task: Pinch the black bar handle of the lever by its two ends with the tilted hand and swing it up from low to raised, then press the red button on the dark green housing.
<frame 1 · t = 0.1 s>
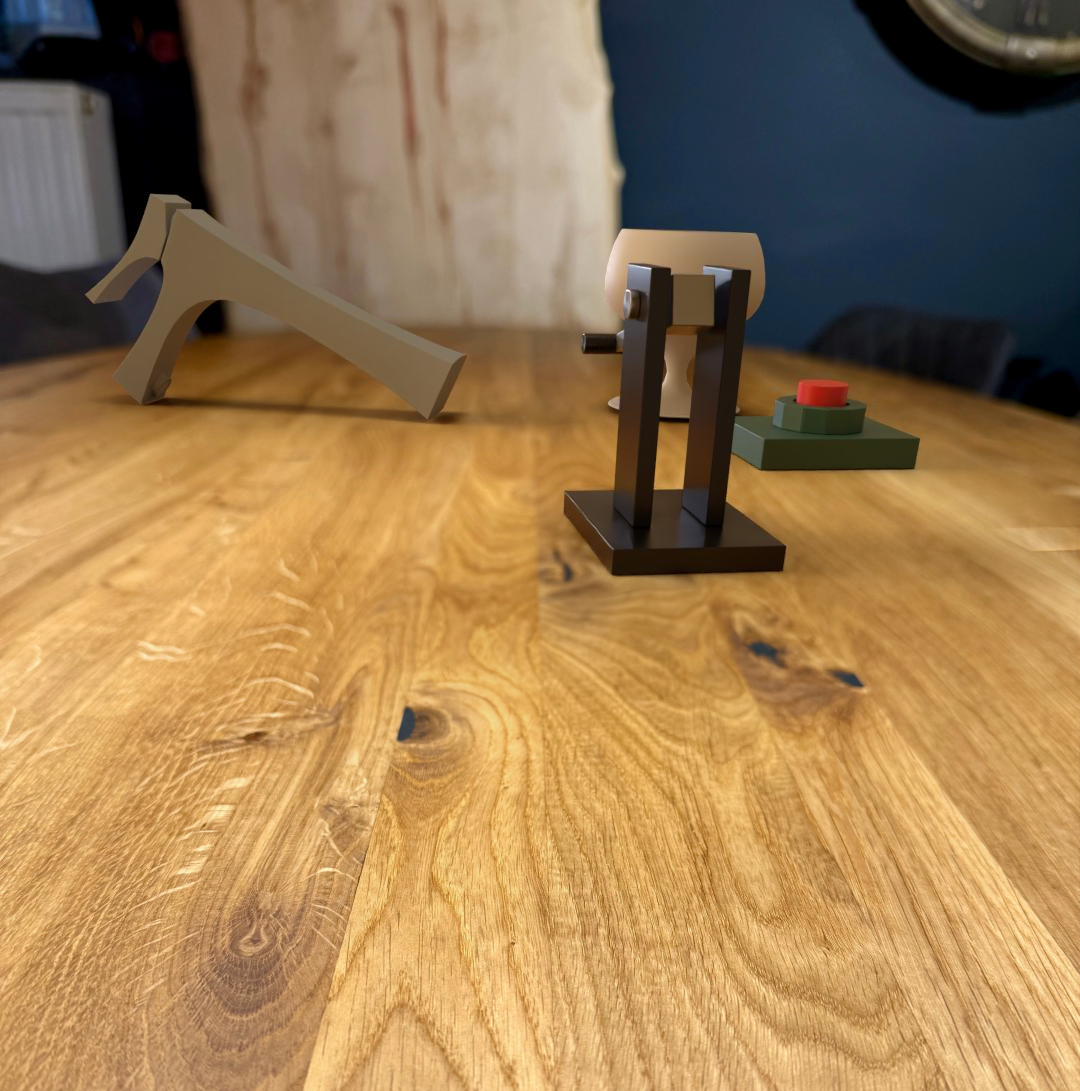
button box: (813, 456, 79), on the table
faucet: (285, 410, 90), on the table
bracket: (664, 538, 57), on the table
lever: (652, 325, 57), point 11 cm above the table, hinge at -15.0°
button: (822, 395, 77), point 4 cm above the table, slide at 0.1 cm
chalice: (673, 412, 95), on the table
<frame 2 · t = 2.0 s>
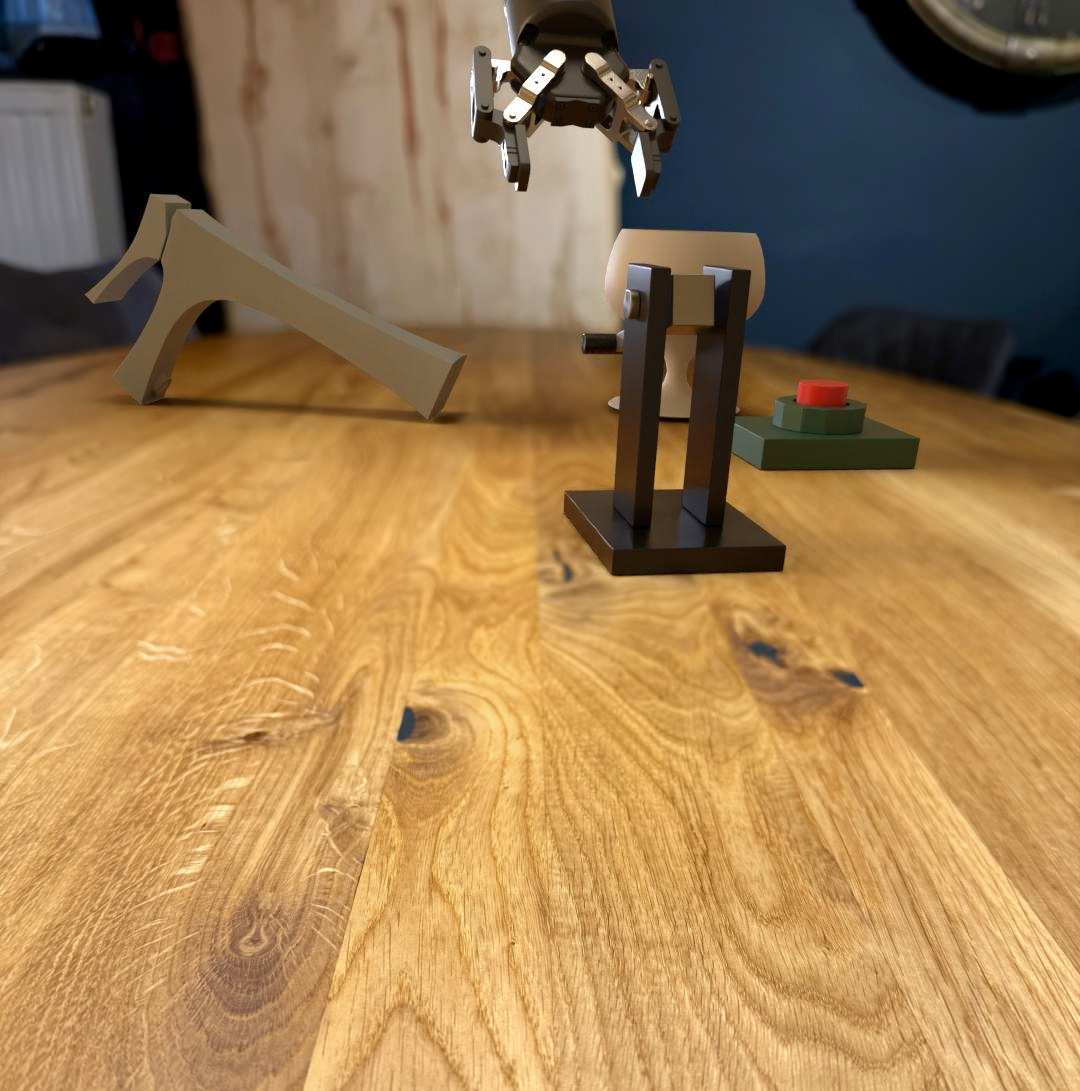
hand: (586, 184, 69), 18 cm above the table, tool tilted 45°, fingers open, 8 cm apart
nothing on the table moved.
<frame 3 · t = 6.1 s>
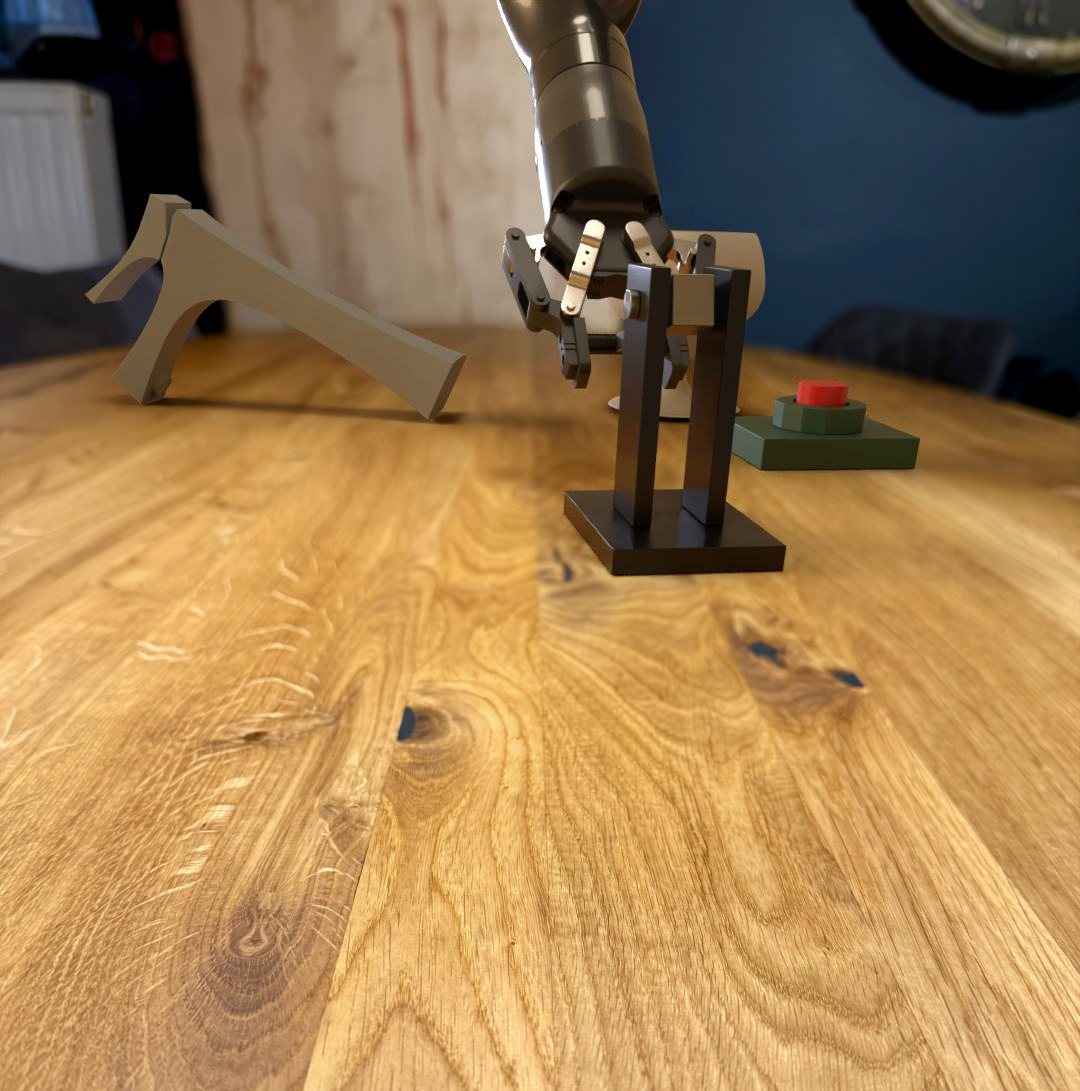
hand: (628, 379, 62), 7 cm above the table, tool tilted 45°, fingers closed on lever, 5 cm apart
lever: (652, 325, 57), point 11 cm above the table, hinge at -15.1°, touching gripper
everything else where it was.
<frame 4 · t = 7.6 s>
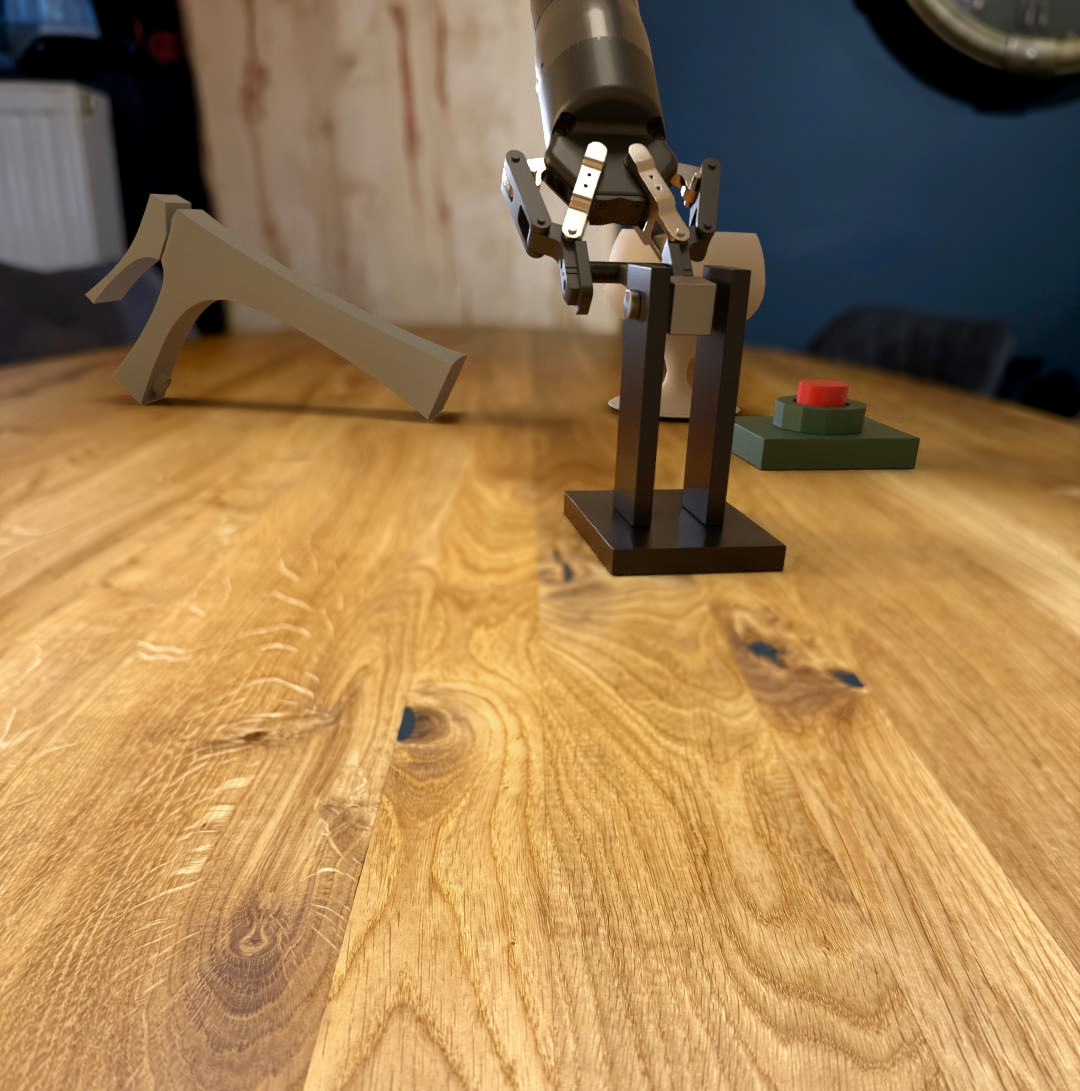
hand: (632, 305, 61), 11 cm above the table, tool tilted 45°, fingers closed on lever, 5 cm apart
lever: (654, 288, 56), point 12 cm above the table, hinge at 4.3°, touching gripper
everything else where it was.
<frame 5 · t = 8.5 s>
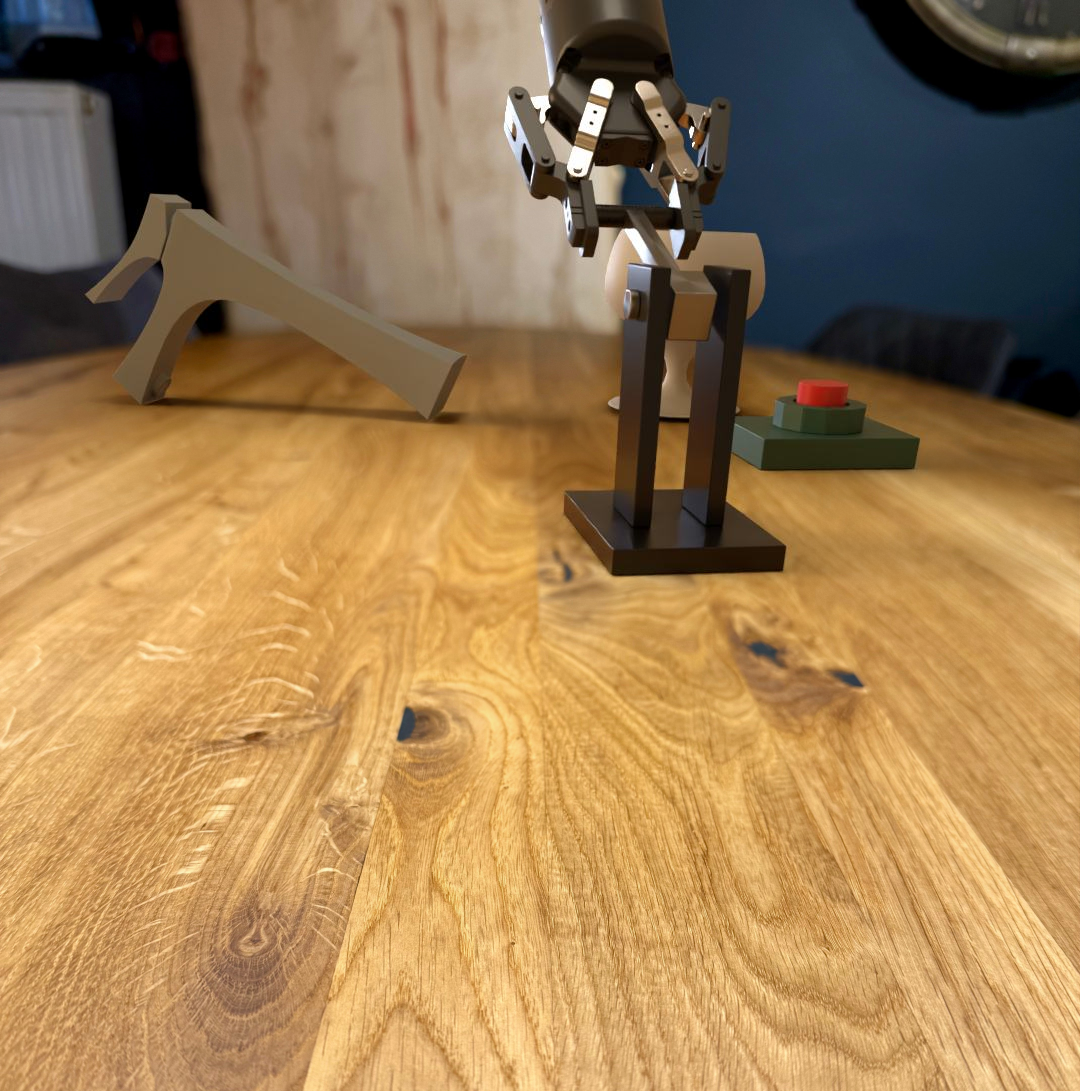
hand: (638, 247, 59), 14 cm above the table, tool tilted 45°, fingers closed on lever, 5 cm apart
lever: (658, 260, 55), point 14 cm above the table, hinge at 19.0°, touching gripper
everything else where it was.
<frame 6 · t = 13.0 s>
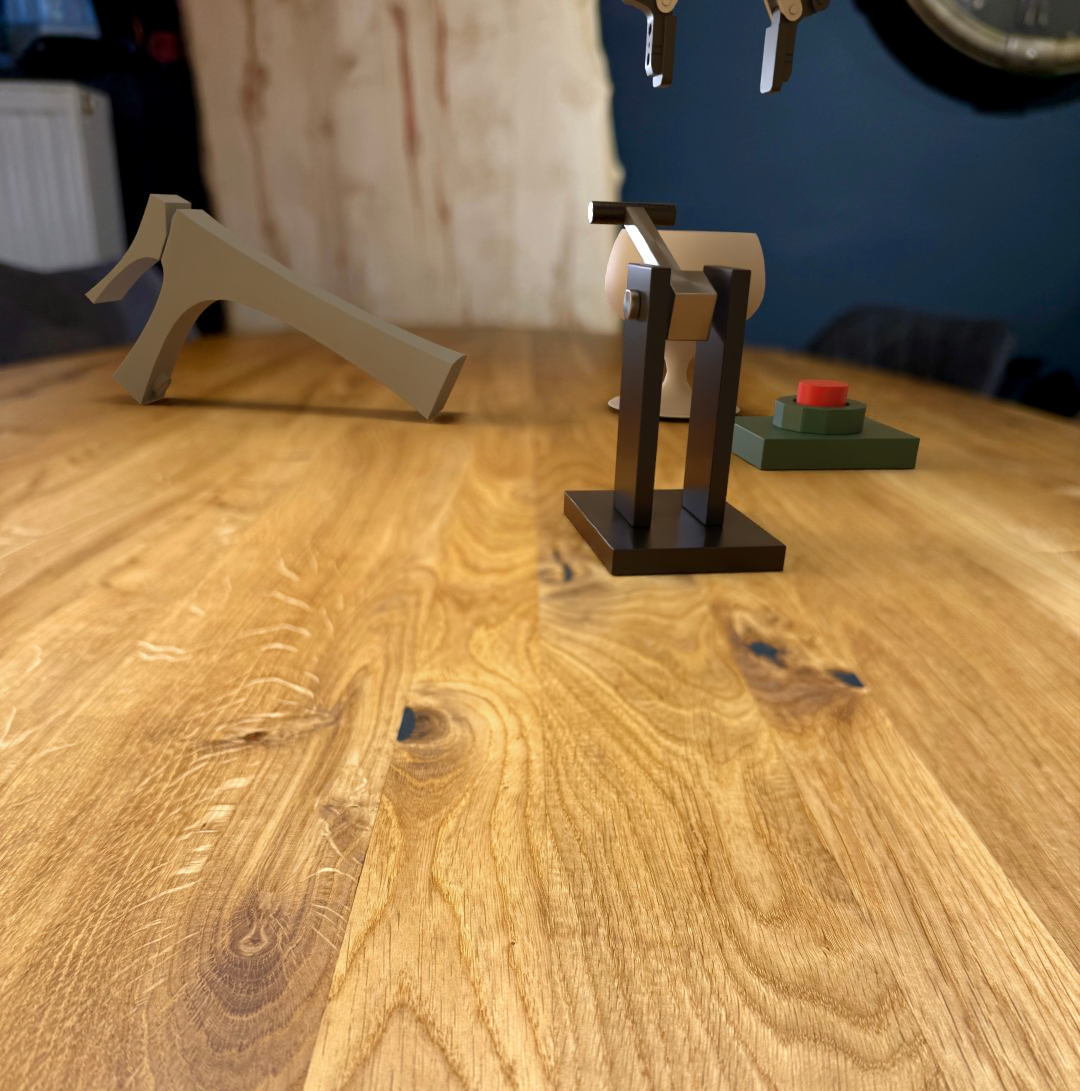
hand: (717, 88, 67), 24 cm above the table, tool pointing down, fingers open, 7 cm apart
lever: (658, 259, 55), point 14 cm above the table, hinge at 19.8°
everything else where it was.
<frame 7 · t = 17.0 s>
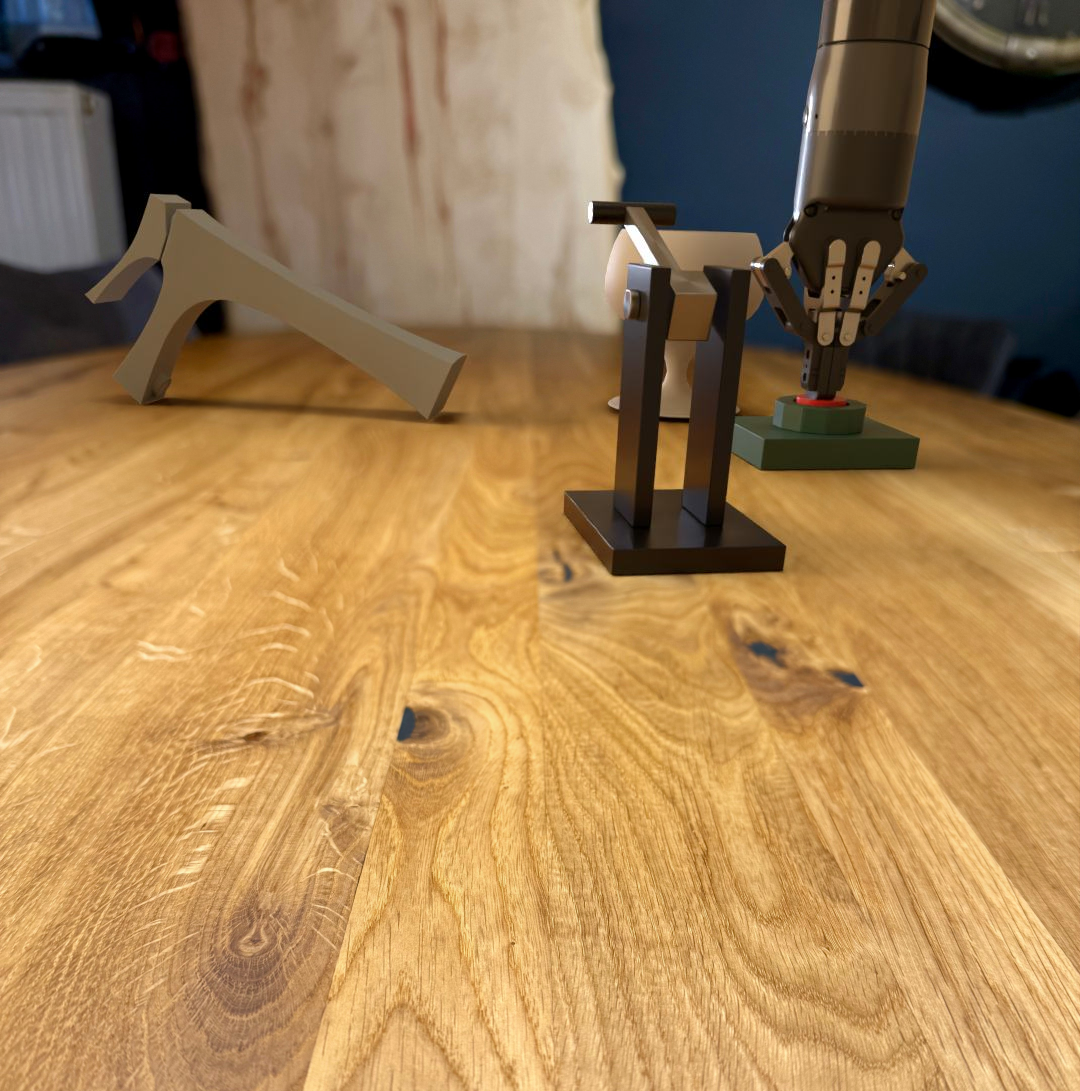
hand: (820, 397, 77), 4 cm above the table, tool pointing down, fingers closed
button: (819, 409, 77), point 3 cm above the table, slide at -0.9 cm, touching gripper
everything else where it was.
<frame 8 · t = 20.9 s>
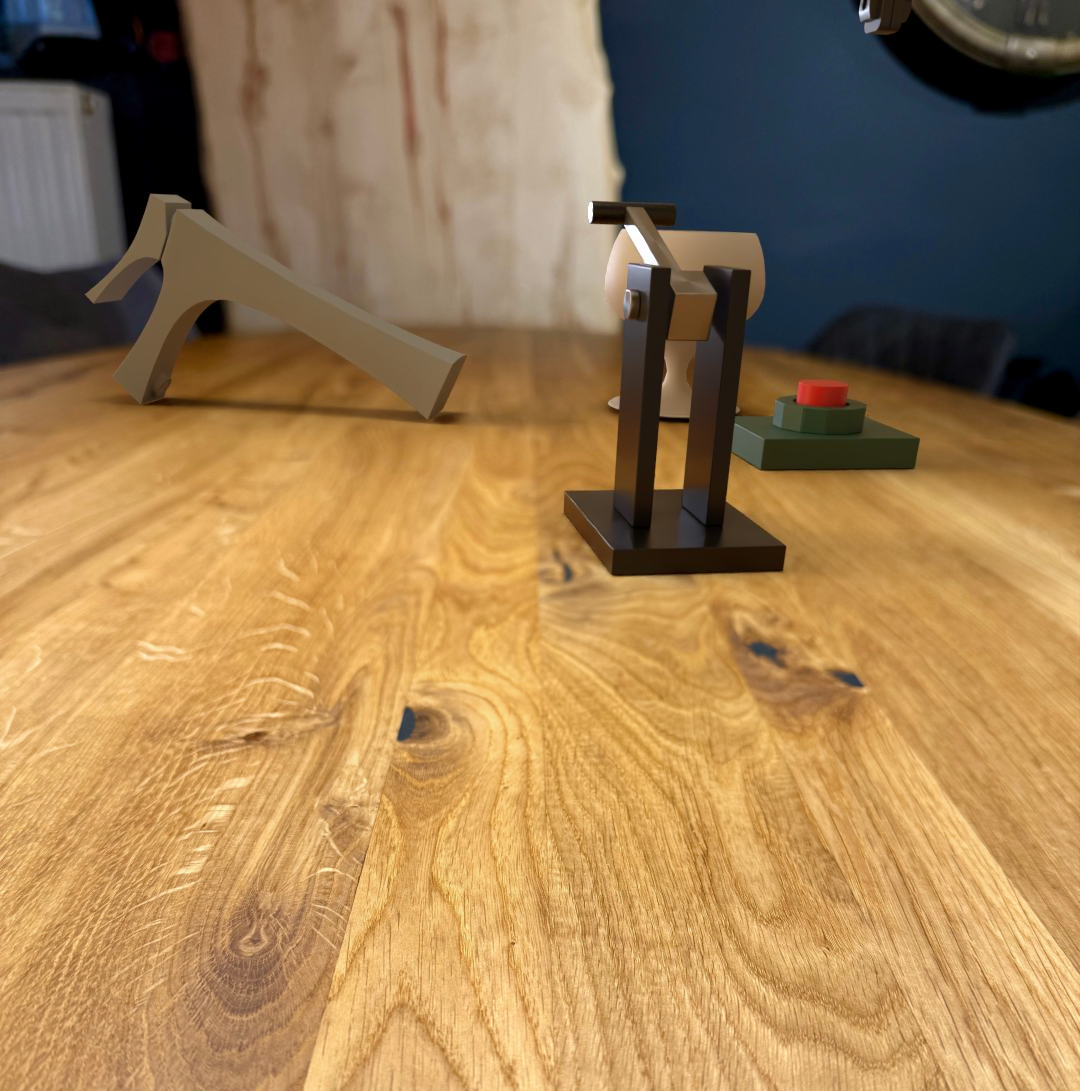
hand: (882, 32, 66), 27 cm above the table, tool pointing down, fingers closed
button: (822, 395, 77), point 4 cm above the table, slide at 0.1 cm
everything else where it was.
at the end: lever at +20° (first picture: -15°); button pushed in 1.1 cm at the most during the clip, back to where it started at the end; button slide at 0.1 cm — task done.
